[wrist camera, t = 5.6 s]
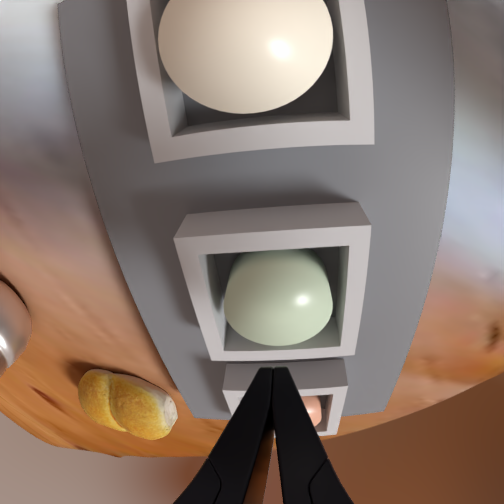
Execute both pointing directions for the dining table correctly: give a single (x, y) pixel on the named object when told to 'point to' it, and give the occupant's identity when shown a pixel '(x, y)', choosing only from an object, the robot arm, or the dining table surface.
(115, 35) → the panel
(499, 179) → the dining table surface
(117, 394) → the bread roll
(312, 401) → the terracotta button
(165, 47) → the cream button
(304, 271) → the sage button
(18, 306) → the plastic bottle
